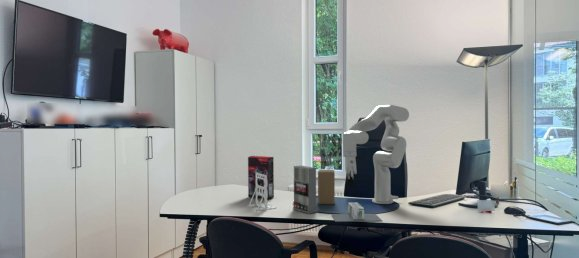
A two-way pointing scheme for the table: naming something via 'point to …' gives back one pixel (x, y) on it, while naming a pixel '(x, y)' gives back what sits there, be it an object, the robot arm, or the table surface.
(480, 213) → the table surface
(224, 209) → the table surface
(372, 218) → the mat
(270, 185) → the graphics card box
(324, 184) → the block
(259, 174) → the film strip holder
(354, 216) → the syrup box
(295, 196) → the grey labelled carton
